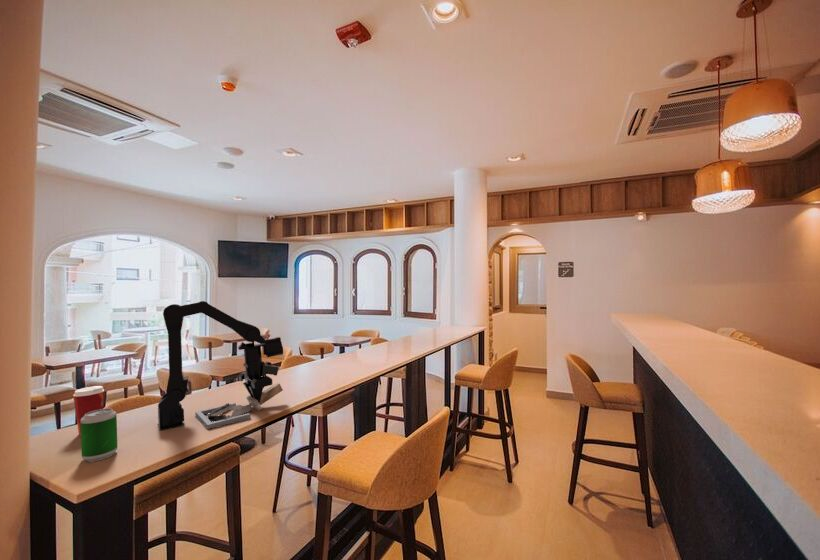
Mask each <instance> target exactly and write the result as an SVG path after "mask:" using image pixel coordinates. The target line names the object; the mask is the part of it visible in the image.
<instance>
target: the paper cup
mask: <svg viewBox="0 0 820 560" xmlns="http://www.w3.org/2000/svg"><path fill="white" fill-rule="evenodd" d="M104 392H105V389H104V386H103V385H93V386H87V387H82V388H78V389H76V390H75V391H74V394H72V396H73V397H74V404H75V405H74V406H75V413H76V415H75V416H76V421H77V422H76V425H77V431H78V435H79V437H81V418H83V417H84V416H85V414H86V413H89V412H92V411H95V410H100V409H104Z"/></svg>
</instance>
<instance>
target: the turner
mask: <svg viewBox="0 0 820 560" xmlns="http://www.w3.org/2000/svg"><path fill="white" fill-rule="evenodd" d="M282 391H284V389H283V388H282V385H281V384H280V382H276V383H274V384H272V385H270V386H269V387H268V388H267V389H265V390H264V391H262V395H261V400H260V403H259V402H258V400H256V399H254V398H253V397H251V396H250V395H247V396H246V397H245V398H246V400H247V401H248V405H249V404H250V403H251V405H252V406H251V408H254V409H255V410H257V411H258V412H259V411H260V410H262V405H263V404H265V403H266V402H268V401H269V400H271V399H272V398H274V397H275V396H277V395H279V394H280V393H281V392H282Z"/></svg>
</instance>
